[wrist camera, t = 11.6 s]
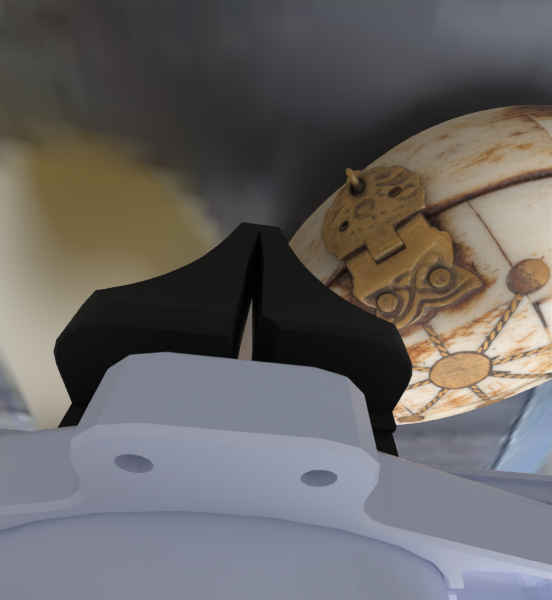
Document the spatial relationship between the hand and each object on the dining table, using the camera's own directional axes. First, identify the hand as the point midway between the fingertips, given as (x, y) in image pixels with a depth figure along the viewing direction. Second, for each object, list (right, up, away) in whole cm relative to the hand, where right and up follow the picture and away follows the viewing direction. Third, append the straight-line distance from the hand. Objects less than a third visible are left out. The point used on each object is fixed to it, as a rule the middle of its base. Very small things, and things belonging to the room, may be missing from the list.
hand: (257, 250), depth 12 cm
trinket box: (+7, +1, +6) cm, 9 cm away
